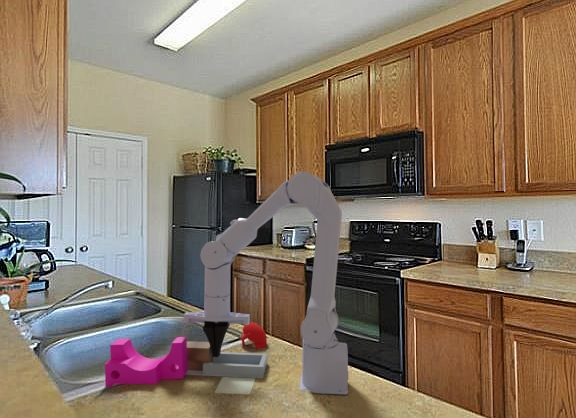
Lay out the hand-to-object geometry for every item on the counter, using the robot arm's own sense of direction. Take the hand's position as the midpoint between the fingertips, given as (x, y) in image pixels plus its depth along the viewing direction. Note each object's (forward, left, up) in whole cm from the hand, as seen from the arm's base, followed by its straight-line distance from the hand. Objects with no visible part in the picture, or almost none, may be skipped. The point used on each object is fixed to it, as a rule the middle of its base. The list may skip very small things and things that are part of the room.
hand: (216, 355), depth 86 cm
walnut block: (+4, 0, -3) cm, 5 cm away
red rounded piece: (-6, -16, -4) cm, 18 cm away
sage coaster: (-6, +8, -3) cm, 11 cm away
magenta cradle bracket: (+13, +6, -3) cm, 15 cm away
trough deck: (-2, 0, -3) cm, 4 cm away
